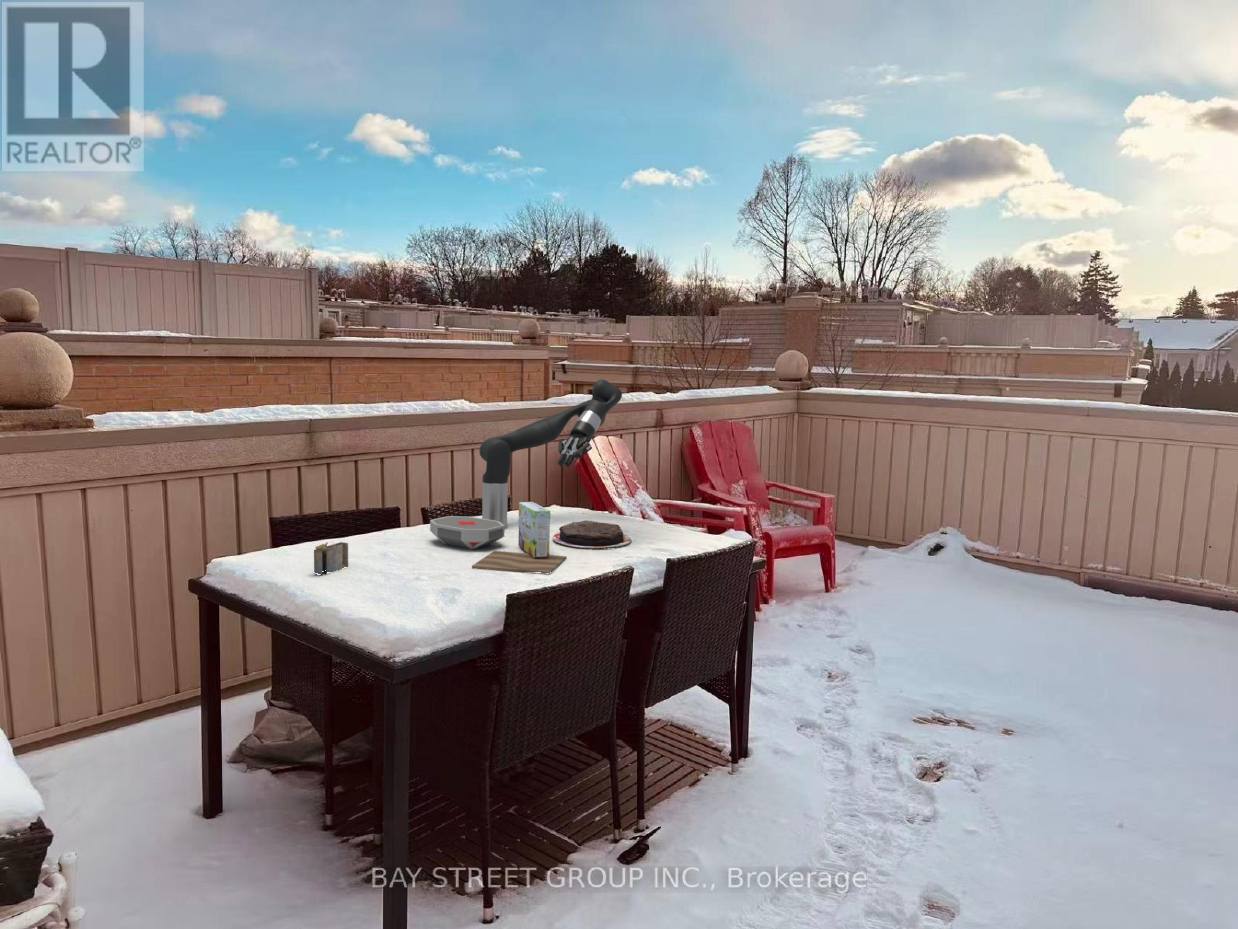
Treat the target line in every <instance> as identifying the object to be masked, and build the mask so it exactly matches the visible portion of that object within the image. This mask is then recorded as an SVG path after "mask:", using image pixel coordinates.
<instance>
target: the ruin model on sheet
mask: <svg viewBox="0 0 1238 929" xmlns="http://www.w3.org/2000/svg"><path fill="white" fill-rule="evenodd" d="M328 544H329V542H328V541H327V542H325V543H322V544H320V545H317V546H315V549H313V573H314V572H315V573H318V574H322V575H323V573H322V571H325V570H326V573H327V572H332V573H334V572H333V571H335V572H337V571H336V570H338V571H340V570H339V569H341V570H343V569H342V568H344V567H347V568H349V543H348V542H343V541H339V542H337V543H334V544H330V545H328ZM344 569H345V568H344ZM326 573H325V574H326Z"/></svg>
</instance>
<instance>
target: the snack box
mask: <svg viewBox="0 0 1238 929" xmlns="http://www.w3.org/2000/svg"><path fill="white" fill-rule="evenodd" d="M550 527H551V510H550V509H547V508H545V507H543V506H542V505H539V504H538V503H536V502H533V501H520V502H518V547H520V548H521V549H522V550H523V551H525V553H529V554H530V555H531V556H532V557H534V558H542V557H549V555H550V539H551V538H550V534H551V532H550V529H551V528H550Z"/></svg>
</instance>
